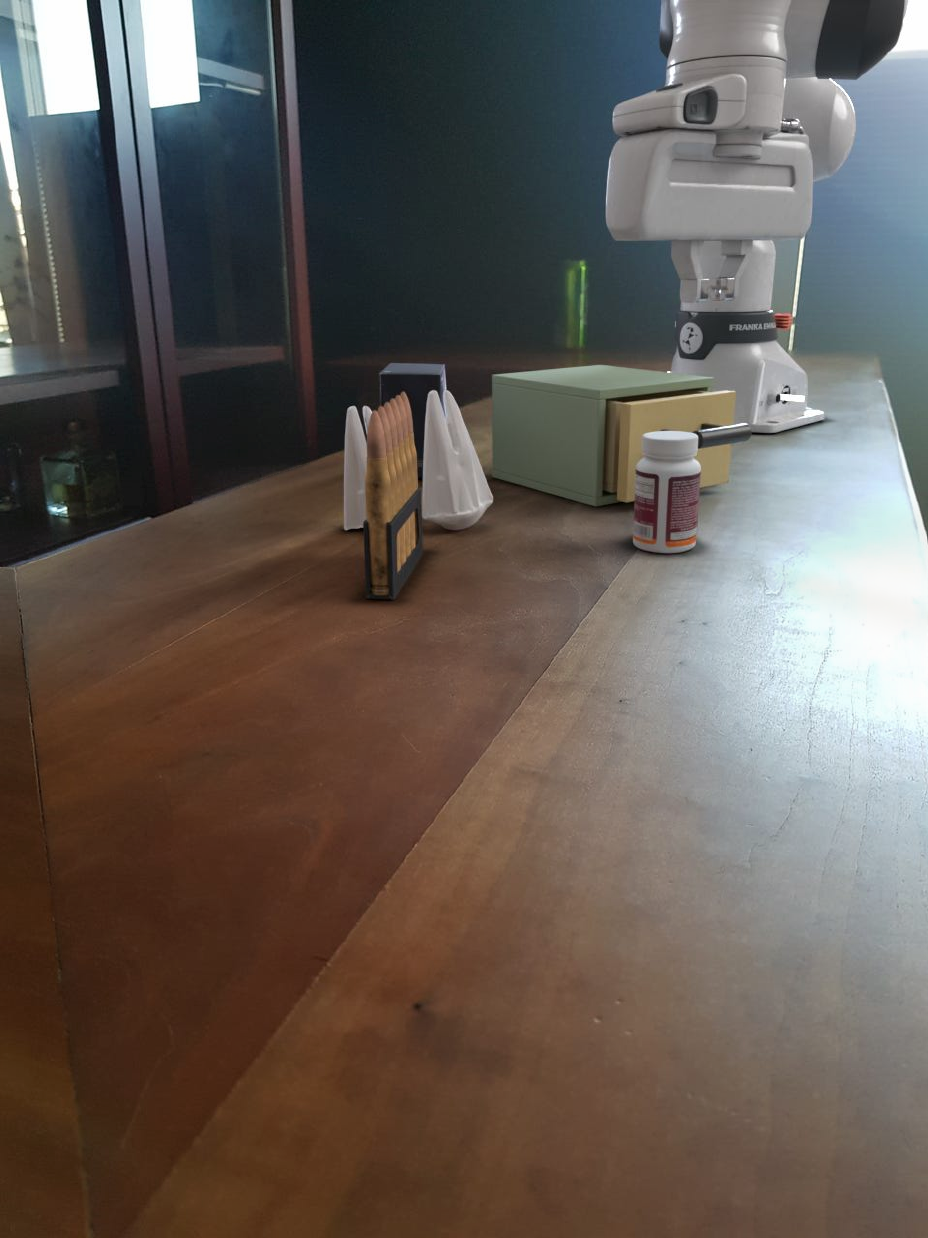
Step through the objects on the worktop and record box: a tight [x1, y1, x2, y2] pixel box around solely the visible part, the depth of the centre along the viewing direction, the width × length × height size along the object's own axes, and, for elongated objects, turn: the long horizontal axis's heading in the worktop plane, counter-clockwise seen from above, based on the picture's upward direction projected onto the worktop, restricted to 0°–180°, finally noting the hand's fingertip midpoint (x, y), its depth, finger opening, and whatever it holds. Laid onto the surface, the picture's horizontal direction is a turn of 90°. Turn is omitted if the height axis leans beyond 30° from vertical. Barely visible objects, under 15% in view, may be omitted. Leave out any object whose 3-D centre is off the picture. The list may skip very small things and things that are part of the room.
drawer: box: [602, 389, 753, 503], centre depth 87 cm, size 20×13×8 cm, turn 34°
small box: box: [378, 362, 447, 479], centre depth 98 cm, size 11×6×10 cm, turn 179°
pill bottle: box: [632, 431, 701, 554], centre depth 71 cm, size 5×5×8 cm
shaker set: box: [343, 389, 494, 531], centre depth 76 cm, size 12×4×11 cm, turn 81°
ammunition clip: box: [362, 392, 424, 601], centre depth 64 cm, size 11×2×12 cm, turn 172°
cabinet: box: [491, 364, 714, 507], centre depth 91 cm, size 16×14×10 cm
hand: (708, 301), depth 77 cm, fingers closed
